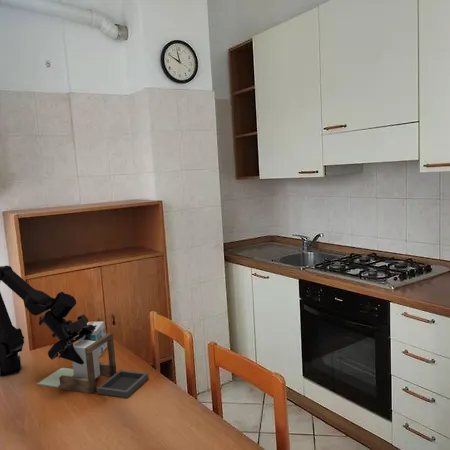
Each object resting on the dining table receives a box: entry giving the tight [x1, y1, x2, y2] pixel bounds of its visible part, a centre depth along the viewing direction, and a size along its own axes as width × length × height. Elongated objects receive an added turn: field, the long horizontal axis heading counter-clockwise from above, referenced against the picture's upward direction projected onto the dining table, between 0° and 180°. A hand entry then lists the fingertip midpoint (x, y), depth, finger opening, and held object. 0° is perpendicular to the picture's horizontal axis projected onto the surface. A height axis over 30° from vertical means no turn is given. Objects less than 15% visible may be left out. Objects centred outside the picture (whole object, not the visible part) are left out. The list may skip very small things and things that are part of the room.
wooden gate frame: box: [59, 332, 118, 394], centre depth 151 cm, size 13×13×15 cm
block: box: [71, 340, 101, 380], centre depth 152 cm, size 6×6×12 cm
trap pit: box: [96, 369, 150, 399], centre depth 147 cm, size 11×13×2 cm
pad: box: [37, 367, 74, 388], centre depth 157 cm, size 8×12×1 cm
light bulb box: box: [87, 321, 108, 358], centre depth 176 cm, size 11×7×11 cm, turn 179°
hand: (89, 359), depth 151 cm, fingers closed on block, 6 cm apart
